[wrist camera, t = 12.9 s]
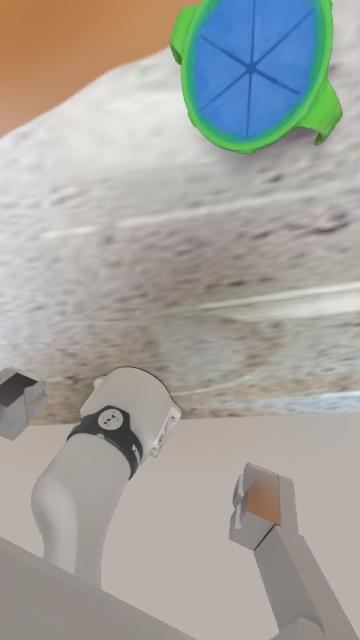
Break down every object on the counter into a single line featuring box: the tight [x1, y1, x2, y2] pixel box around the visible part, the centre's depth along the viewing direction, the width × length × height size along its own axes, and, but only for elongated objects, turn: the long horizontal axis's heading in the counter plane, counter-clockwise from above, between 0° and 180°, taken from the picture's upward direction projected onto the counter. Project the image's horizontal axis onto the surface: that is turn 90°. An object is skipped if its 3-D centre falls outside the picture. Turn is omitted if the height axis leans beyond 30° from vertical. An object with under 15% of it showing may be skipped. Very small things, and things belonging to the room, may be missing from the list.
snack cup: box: [169, 0, 343, 154], centre depth 23 cm, size 16×10×10 cm
